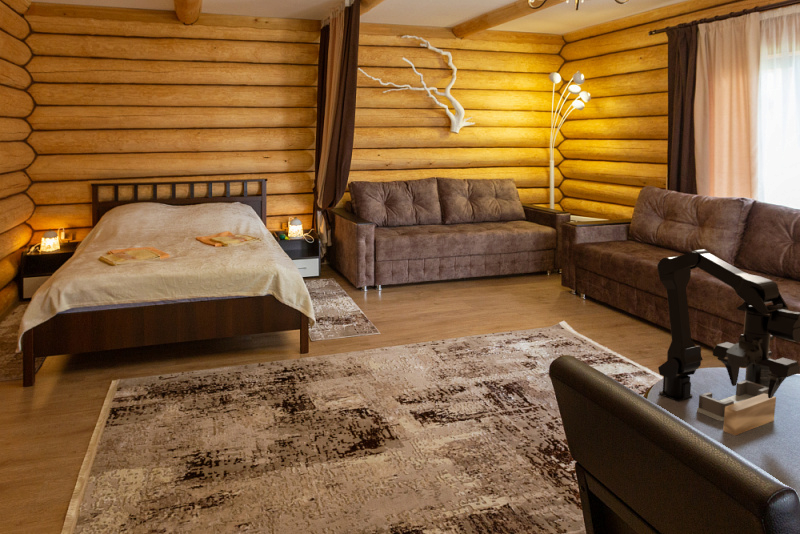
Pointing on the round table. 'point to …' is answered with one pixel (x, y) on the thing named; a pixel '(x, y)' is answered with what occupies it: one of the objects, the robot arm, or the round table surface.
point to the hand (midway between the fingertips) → (751, 391)
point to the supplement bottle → (758, 374)
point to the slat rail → (729, 399)
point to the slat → (749, 414)
